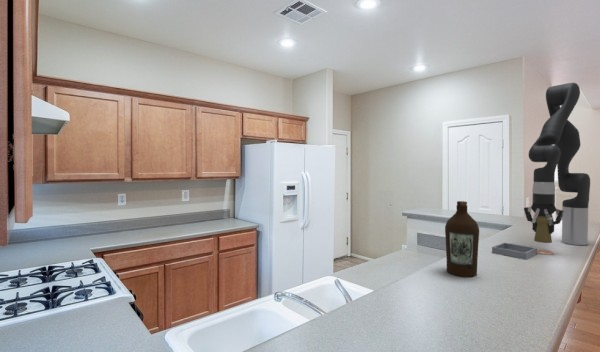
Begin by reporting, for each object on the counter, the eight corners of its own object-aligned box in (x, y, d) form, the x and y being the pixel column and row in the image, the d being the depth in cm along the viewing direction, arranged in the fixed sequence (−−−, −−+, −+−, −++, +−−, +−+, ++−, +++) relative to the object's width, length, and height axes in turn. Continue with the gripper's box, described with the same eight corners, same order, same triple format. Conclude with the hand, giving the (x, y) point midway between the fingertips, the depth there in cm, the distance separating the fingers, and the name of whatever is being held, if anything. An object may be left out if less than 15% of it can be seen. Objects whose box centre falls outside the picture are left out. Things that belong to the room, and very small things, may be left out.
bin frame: (504, 248, 141) (504, 242, 141) (537, 254, 131) (537, 248, 131) (492, 252, 133) (492, 247, 133) (526, 259, 123) (526, 253, 123)
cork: (545, 239, 136) (546, 214, 135) (555, 243, 130) (556, 216, 129) (530, 239, 136) (531, 214, 136) (540, 242, 130) (540, 216, 130)
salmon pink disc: (535, 249, 138) (535, 247, 138) (555, 252, 132) (555, 251, 132) (530, 252, 134) (530, 250, 134) (550, 255, 128) (550, 254, 128)
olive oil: (446, 266, 117) (446, 199, 116) (478, 270, 111) (479, 200, 111) (443, 274, 107) (443, 202, 107) (479, 280, 102) (479, 204, 101)
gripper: (567, 193, 129) (567, 234, 129) (527, 191, 140) (526, 228, 141) (562, 194, 124) (561, 236, 125) (520, 192, 136) (520, 231, 136)
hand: (543, 232), depth 133 cm, fingers closed on cork, 4 cm apart
